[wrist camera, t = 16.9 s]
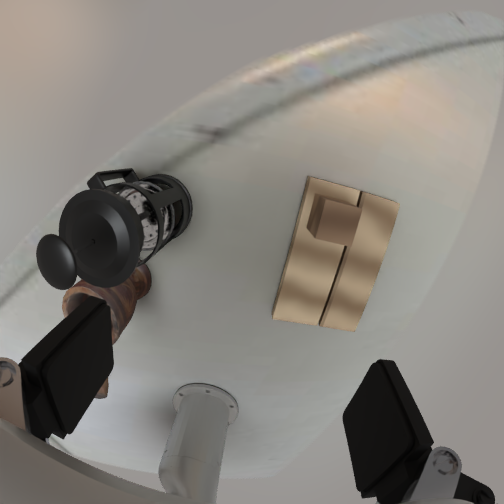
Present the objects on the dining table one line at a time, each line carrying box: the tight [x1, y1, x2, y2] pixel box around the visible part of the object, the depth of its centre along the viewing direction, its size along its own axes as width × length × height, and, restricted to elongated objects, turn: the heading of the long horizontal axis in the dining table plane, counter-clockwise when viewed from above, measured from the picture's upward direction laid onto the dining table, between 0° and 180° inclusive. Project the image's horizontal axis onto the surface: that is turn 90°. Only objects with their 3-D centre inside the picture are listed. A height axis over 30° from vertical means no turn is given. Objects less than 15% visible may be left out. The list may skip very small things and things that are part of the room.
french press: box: [36, 168, 192, 290], centre depth 27 cm, size 12×9×23 cm
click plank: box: [272, 176, 360, 325], centre depth 38 cm, size 20×7×2 cm, turn 168°
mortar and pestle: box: [62, 259, 151, 399], centre depth 33 cm, size 12×9×20 cm
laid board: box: [319, 191, 400, 332], centre depth 39 cm, size 20×6×2 cm, turn 168°
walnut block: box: [306, 193, 363, 247], centre depth 33 cm, size 4×4×5 cm
